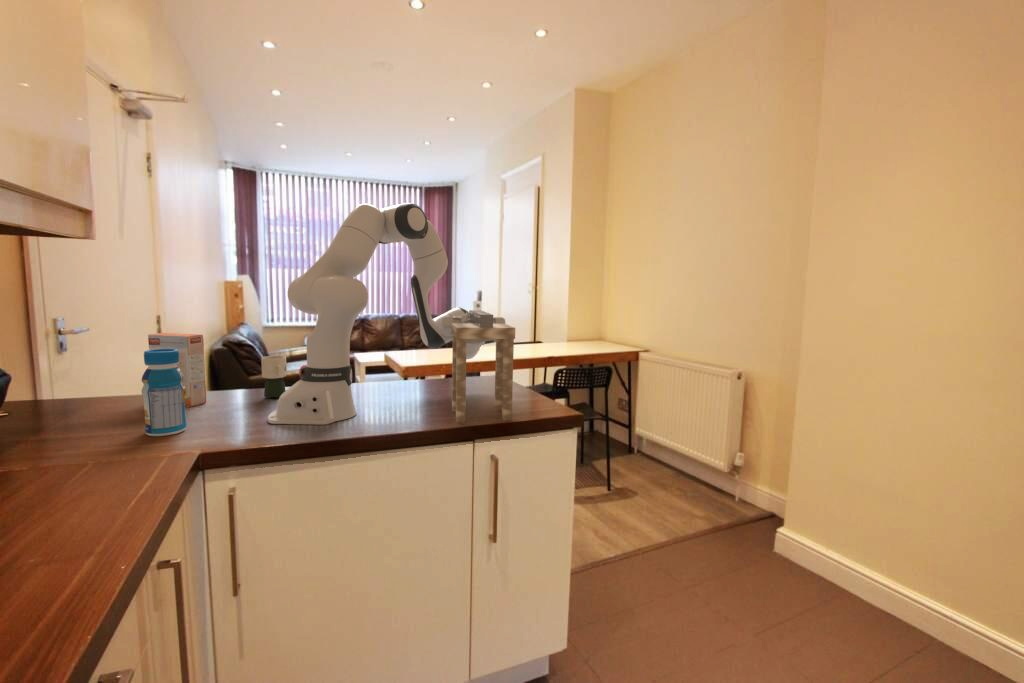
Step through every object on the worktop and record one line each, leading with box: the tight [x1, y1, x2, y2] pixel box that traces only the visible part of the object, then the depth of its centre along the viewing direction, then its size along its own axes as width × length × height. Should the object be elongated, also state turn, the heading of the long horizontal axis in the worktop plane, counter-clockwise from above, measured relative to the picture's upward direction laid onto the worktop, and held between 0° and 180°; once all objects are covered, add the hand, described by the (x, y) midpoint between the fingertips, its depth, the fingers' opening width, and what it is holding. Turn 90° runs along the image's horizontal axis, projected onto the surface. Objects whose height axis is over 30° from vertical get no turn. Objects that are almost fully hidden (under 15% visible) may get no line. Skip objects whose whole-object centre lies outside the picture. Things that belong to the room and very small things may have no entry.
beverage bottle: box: [141, 349, 187, 437], centre depth 114 cm, size 8×8×20 cm
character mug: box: [260, 355, 288, 399], centre depth 151 cm, size 11×7×13 cm, turn 44°
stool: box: [451, 323, 516, 424], centre depth 135 cm, size 16×14×26 cm
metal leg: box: [468, 309, 494, 328], centre depth 138 cm, size 4×22×4 cm, turn 13°
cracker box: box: [147, 332, 207, 408], centre depth 140 cm, size 14×6×21 cm, turn 77°
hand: (476, 315), depth 145 cm, fingers closed on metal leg, 3 cm apart
